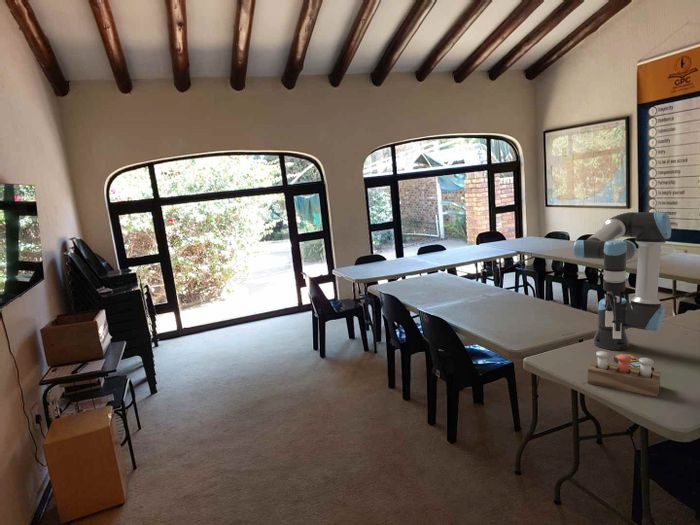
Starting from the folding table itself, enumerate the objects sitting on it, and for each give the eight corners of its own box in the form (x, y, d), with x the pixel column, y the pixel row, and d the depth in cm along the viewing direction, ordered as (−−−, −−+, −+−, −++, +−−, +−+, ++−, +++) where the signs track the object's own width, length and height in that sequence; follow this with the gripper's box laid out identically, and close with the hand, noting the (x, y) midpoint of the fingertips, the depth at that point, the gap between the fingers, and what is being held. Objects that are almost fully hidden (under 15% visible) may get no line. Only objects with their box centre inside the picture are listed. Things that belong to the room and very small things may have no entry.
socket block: (592, 373, 197) (592, 360, 196) (659, 386, 182) (660, 371, 181) (587, 383, 189) (587, 369, 188) (657, 396, 175) (658, 382, 173)
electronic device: (629, 360, 208) (630, 353, 208) (655, 374, 193) (655, 366, 193) (612, 361, 208) (612, 354, 207) (636, 376, 193) (636, 368, 192)
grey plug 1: (597, 367, 193) (597, 350, 191) (610, 369, 190) (610, 352, 188) (594, 371, 189) (595, 354, 188) (608, 373, 186) (608, 356, 185)
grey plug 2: (639, 374, 184) (639, 356, 182) (653, 376, 181) (654, 359, 179) (637, 379, 180) (638, 361, 179) (652, 381, 177) (652, 363, 176)
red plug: (617, 370, 188) (618, 353, 187) (631, 373, 185) (631, 355, 184) (615, 375, 185) (616, 357, 183) (629, 377, 182) (630, 359, 180)
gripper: (597, 273, 191) (596, 321, 195) (610, 288, 168) (609, 343, 172) (617, 272, 189) (616, 322, 193) (634, 288, 165) (632, 344, 169)
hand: (612, 332), depth 182 cm, fingers open, 13 cm apart
